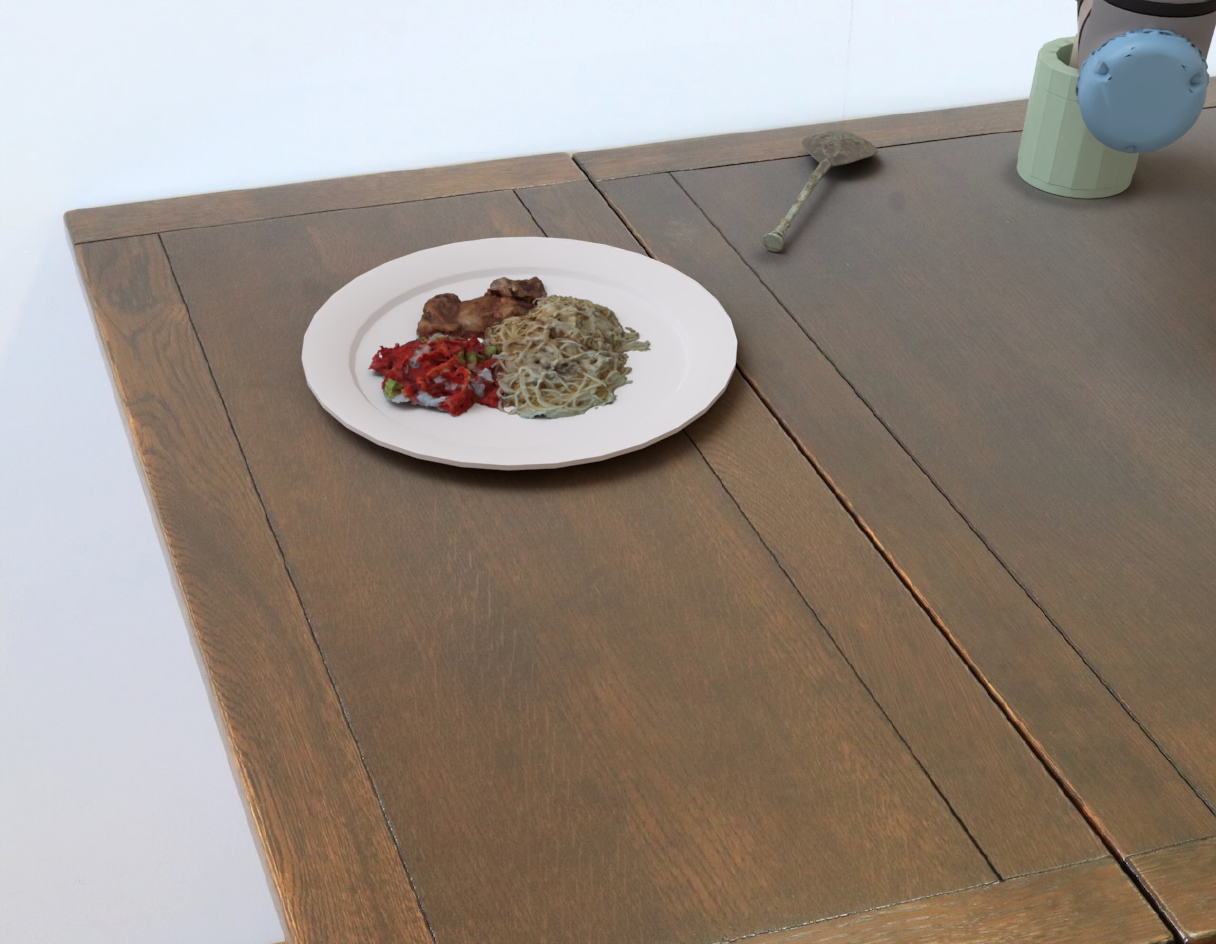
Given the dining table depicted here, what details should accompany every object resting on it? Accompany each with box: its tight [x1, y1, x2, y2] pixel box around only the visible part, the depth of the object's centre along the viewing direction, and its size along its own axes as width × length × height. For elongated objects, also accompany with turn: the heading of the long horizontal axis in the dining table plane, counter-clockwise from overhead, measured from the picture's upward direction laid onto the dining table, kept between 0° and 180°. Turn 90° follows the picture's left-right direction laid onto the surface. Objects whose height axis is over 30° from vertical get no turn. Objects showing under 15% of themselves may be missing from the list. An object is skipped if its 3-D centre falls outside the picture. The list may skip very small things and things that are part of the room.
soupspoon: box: [762, 129, 879, 253], centre depth 124 cm, size 22×3×7 cm
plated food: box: [301, 236, 738, 471], centre depth 103 cm, size 30×30×3 cm
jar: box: [1016, 35, 1140, 199], centre depth 125 cm, size 10×10×10 cm
